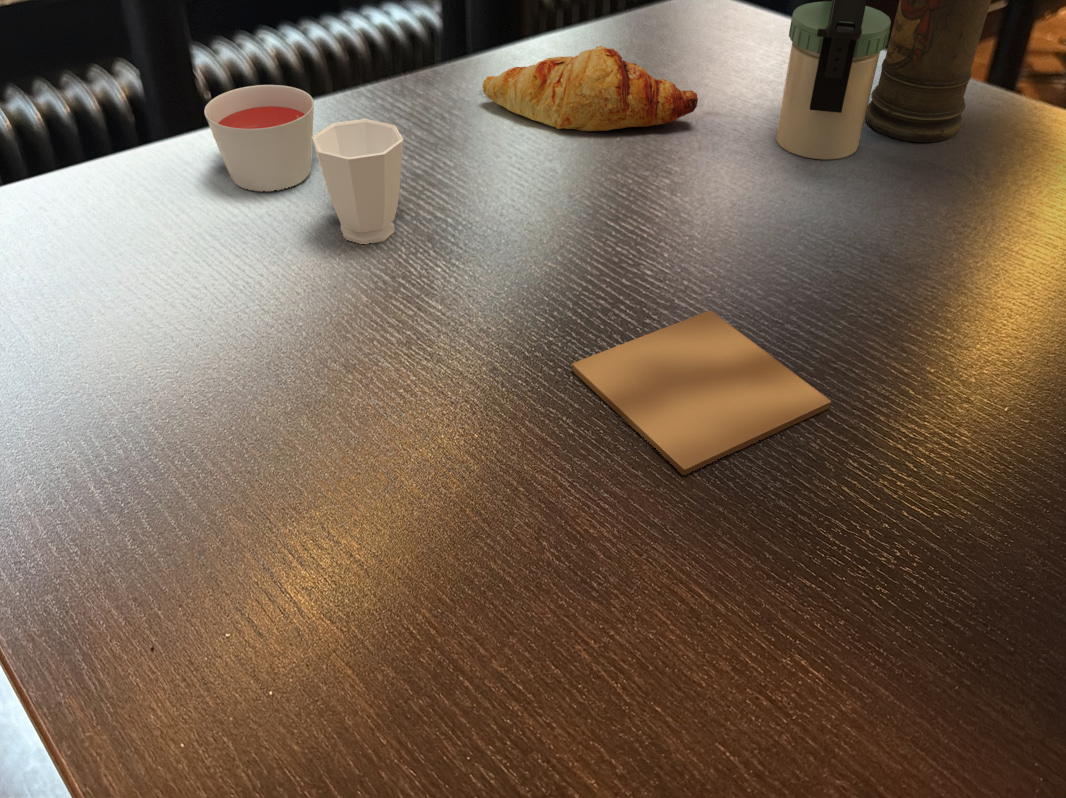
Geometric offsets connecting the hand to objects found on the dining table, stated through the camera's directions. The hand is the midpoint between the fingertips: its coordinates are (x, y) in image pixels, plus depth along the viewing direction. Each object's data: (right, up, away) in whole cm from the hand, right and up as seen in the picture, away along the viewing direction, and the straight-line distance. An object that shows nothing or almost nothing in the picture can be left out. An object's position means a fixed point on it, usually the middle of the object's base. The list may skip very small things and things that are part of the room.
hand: (825, 89), depth 91 cm
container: (+10, -1, +7) cm, 12 cm away
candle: (-50, -9, -3) cm, 50 cm away
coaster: (-16, -27, -25) cm, 41 cm away
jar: (0, -4, +3) cm, 5 cm away
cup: (-40, -14, -9) cm, 43 cm away
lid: (0, +5, -4) cm, 6 cm away
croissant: (-21, 0, +8) cm, 23 cm away
